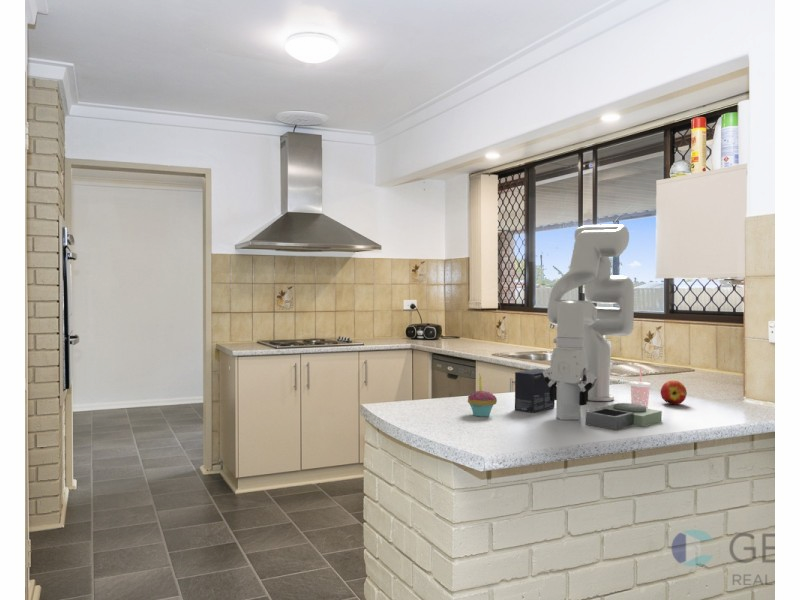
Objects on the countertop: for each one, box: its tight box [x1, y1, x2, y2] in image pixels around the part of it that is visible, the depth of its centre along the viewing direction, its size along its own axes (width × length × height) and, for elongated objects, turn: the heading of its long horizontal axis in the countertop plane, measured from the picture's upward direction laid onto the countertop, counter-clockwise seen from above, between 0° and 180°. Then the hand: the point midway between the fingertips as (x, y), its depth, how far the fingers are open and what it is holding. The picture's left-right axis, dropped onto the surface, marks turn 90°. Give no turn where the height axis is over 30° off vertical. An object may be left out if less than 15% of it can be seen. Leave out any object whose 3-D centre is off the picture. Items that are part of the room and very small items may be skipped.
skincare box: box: [555, 378, 582, 421], centre depth 185 cm, size 6×4×12 cm
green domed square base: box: [595, 402, 663, 428], centre depth 185 cm, size 14×12×4 cm
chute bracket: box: [585, 408, 634, 431], centre depth 178 cm, size 9×10×4 cm
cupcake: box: [467, 373, 498, 418], centre depth 188 cm, size 9×8×12 cm
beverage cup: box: [629, 366, 652, 409], centre depth 198 cm, size 6×6×14 cm
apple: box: [660, 379, 688, 405], centre depth 213 cm, size 8×8×8 cm
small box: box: [514, 368, 556, 414], centre depth 199 cm, size 13×7×12 cm, turn 137°
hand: (568, 402), depth 185 cm, fingers open, 9 cm apart
